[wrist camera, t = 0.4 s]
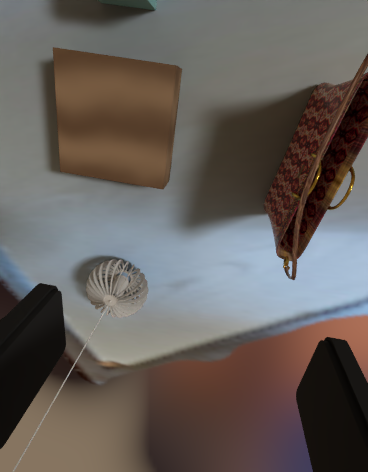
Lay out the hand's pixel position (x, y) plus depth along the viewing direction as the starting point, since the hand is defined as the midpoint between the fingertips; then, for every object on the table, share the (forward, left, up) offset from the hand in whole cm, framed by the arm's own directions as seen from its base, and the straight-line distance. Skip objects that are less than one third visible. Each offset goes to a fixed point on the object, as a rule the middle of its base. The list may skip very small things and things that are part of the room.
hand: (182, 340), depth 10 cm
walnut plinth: (-4, -12, -29) cm, 32 cm away
